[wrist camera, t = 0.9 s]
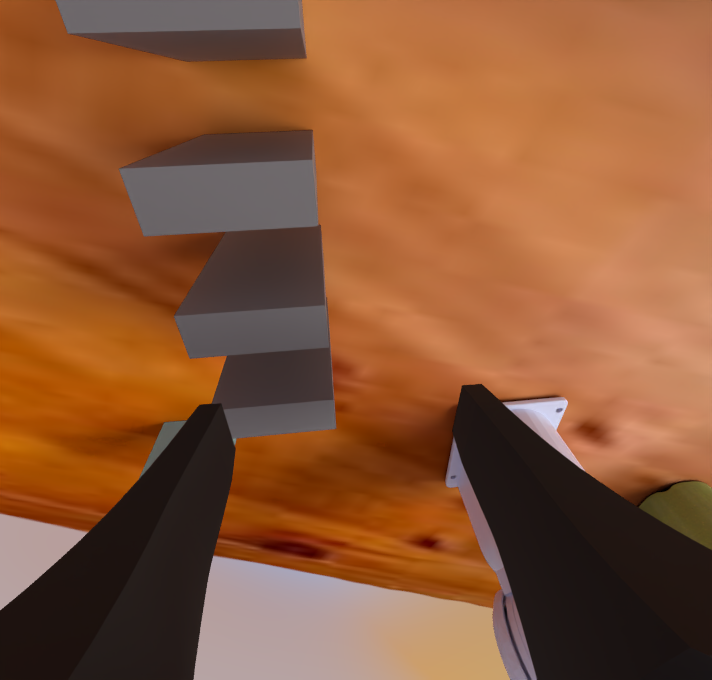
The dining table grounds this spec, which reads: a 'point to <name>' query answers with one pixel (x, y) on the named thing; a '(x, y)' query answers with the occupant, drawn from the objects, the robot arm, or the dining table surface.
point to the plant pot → (684, 510)
